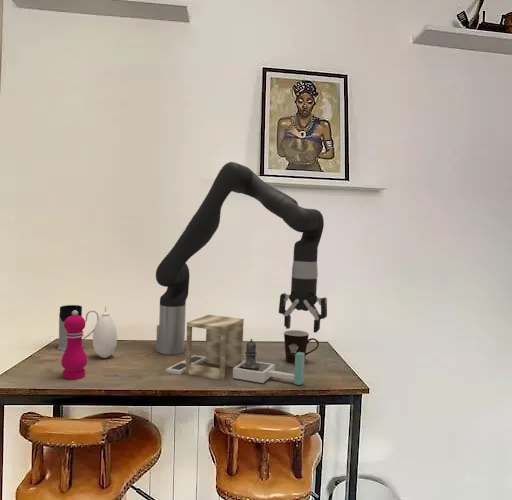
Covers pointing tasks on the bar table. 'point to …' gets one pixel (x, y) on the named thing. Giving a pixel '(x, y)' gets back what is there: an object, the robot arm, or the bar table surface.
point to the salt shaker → (250, 357)
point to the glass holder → (64, 313)
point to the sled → (271, 371)
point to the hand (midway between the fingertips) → (301, 330)
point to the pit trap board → (181, 366)
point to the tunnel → (216, 345)
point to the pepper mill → (74, 348)
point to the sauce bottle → (105, 336)
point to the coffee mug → (296, 344)
